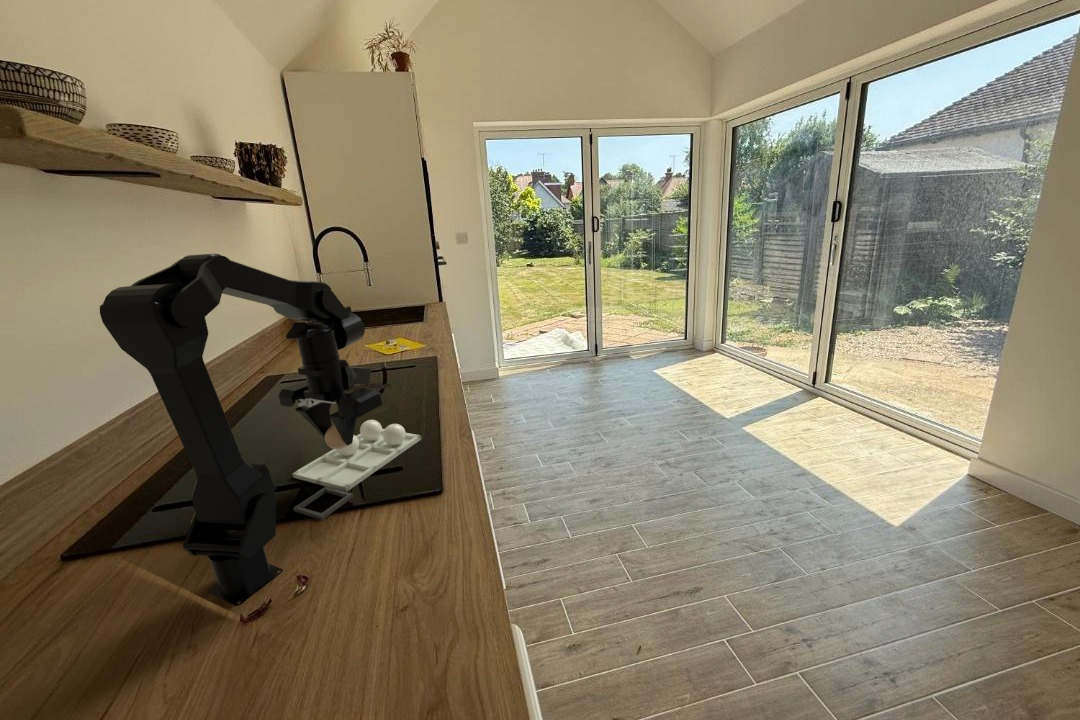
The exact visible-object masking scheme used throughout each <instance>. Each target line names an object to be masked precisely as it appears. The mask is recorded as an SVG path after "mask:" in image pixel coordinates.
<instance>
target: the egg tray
mask: <svg viewBox="0 0 1080 720" xmlns="http://www.w3.org/2000/svg"><path fill="white" fill-rule="evenodd" d="M384 430H385V428H382V433H381V435H380V437H379V438H378V439H376V440H374V441H367V440H365V439H363V438H362V436H361V435H360V433H358V434H357V435H355V436H356V437H357V438H358V440H359V447H358V450H357V451H356V452H355V453H354V454H352V455H349V456H344V455H341V454H339V453H338V452H337V450H336V449H333V448H332V449H331V450H330V451H328V452H326V453H325V454H323V455H321V456H320V457H317V458H316V459H314V460H312V461H311V462H309V463H308V464H306V465H304V466H302V467H300V468H299V469H297V470H296V471H294V472H293V473H291V474H292V478H294V479H298V480H301V481H305V482H309V483H312V484H316V485H319V486H323V487H329V488H333V489H337V490H341V491H344V492H348V491H350V490H352V488H355V486H357V485H358V484H360V483H361V482H362V481H364V480H366V479H367V478H368V477H369V476H371V475H372V474H374V473H375V472H377V471H379V470H380V469H381V468H382V467H384V466H385V465H387V464H388V463H390V462H391V461H392V460H394V459H395V458H397V457H398V456H399V455H401V454H402V453H404V452H405V451H407V450H408V449H410V448H411V447H413V446H414V445H415V444H417V443H418V442H419V441H421V440H422V435H421V434H414V433H409V432H406V436H405V439H404V441H403V442H402V443H401V444H399V445H395V446H393V445H389V444H387V443H386V442H385V440H384V438H383V432H384Z"/></svg>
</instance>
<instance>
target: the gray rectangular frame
mask: <svg viewBox="0 0 1080 720" xmlns="http://www.w3.org/2000/svg"><path fill="white" fill-rule="evenodd" d="M326 493H327V494H331V495H335V496H338V497H342V498H341V499H340V500H338V501H337V502H335V503H334V504H333V505H331V506H330V507H328V508H327V509H326V510H324V511H323V512H318V511H314V510H311V509H308V508H305V507H306V506H308V505H310V504H311V503H312V502H314V501H316V500H317V499H319V498H320V497H321V496H323V495H324V494H326ZM353 498H354V494H353V493H352V492H348V491H347V492H346V491H342V490H338V489H335V488H331V487H327V486H323V488H321V489H320V490H318V491H317V492H315V493H314V494H312V495H310V496H309V497H307V498H306V499H305V500H303V501H301V502H300V503H299V504H297V505H295V506H294V507H293V511H294V513H299V514H302V515H305V516H309V517H311V518H314V519H318V520H321V521H323V520H325V519H326V518H327V517H328V516H329V515H331V514H332V513H334V512H335V511H336V510H338V509H339V508H341V507H342V506H344V504H346V503H348V502H349V501H350V500H351V499H353Z"/></svg>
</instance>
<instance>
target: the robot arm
mask: <svg viewBox="0 0 1080 720" xmlns="http://www.w3.org/2000/svg"><path fill="white" fill-rule="evenodd" d="M223 295H227V296H230V297H231V296H232V297H233V298H234V297H235V298H239V299H244V300H247V301H252V302H256V303H259V304H264V305H267V306H269V307H272V308H273V310H274V311H275V313H276V314H279V315H281V316H283V317H285V318H287V319H289V320H299V321H298V322H293V323H292V327H290V329H289V330H288V331H287V333H286V335H285V337H286V339H287V340H296V342H297V346H298V350H299V355H300V360H301V365H302V366H301V367H298V368H297V372H298V375H300V376H301V375H302V376H305V380H301V381H299V382H296V383H293V384H291V385H288V386H285V387H284V388H281V390H280V392H279V394H278V399H279V402H280V406H282V407H289V408H292V407H294V406H295V405H296V402H297V405H298V407H295V409H294V410H295V412H297V413H298V414H300V415H301V416H302V417H303V418H304V419H305V420H306V421H307V422H308V423H309V424H310V425H311V426H312V427H313V429H315V430H316V432H318V433H319V435H321V436H322V437H323V439H324V440H325V434H326V431H327V430H328V429H329V428H330V427H331V426H333V425H335V427H336V429H337V430H338V432H339V434H340V436H341V438H342V440H343V441H344V443H345V444H346V445H347V446H348V445H350V444H352V442H353V436H354V435H355V428H356V424H357V420H358V418H360V417H362V416H364V415H366V414H368V413H370V412H371V411H373V410H375V409H377V408H379V407H381V406H383V405H384V404H383V403H384V402H383V397H382V392H380V391H379V390H377V389H371V388H365V387H360V388H358V389H355V388H356V386H355V385H365V386H370V385H371V378H372V368H371V367H365V366H364V367H363V366H356V365H355V366H354V365H353V366H352V365H349V361H347V360H346V359H341V358H340V353H339V351H340V350H343V349H345V348H347V347H349V346H351V345H353V344H355V343H357V342H359V341H360V340H362V338H363V337H364V335H365V332H366V325H365V323H364V322H363V320H362V318H361V317H360V316H358V315H357V314H356V313H354V312H352V308H351V306H344V305H343V303H342V302H341V301H340V299H339V298H338V297H337V295H336V294H335V293H334V291H332V288H331V287H330V285H329V284H327V283H326V282H323V281H321V282H320V281H312V280H310V281H309V280H305V281H304V280H292V279H291V280H290V279H288V278H284V277H281V276H278V275H276V274H273V273H269V272H266V271H264V270H260V269H257V268H255V267H251V266H249V265H246V264H243V263H240V262H237V261H234V260H231V259H230V258H229V257H227V256H225V255H222V254H219V253H205V254H204V253H203V254H189V255H185V256H184V257H182V258H180V259H178V260H177V261H176V262H174V263H173V264H171V265H170V266H168V267H166V268H164V269H161V270H159V271H156V272H155V273H152V274H150V275H148V276H145V277H144V278H143V277H142V278H141V279H138V280H137V281H135V282H134V283H132V284H130V285H128V286H119V287H117V288H114V289H112V290H111V291H110V292H109V293H108V294H107V295H106V296H105V298H104V300H103V303H102V304H101V305H100V306H99V315H100V318H101V322H102V323H103V325H104V327H105V328H106V330H107V331H108V332H109V334H110V335H111V336H112V338H113V339H114V341H115V343H116V344H117V345H118V347H119V348H120V349H121V350H122V351H123V352H124V353H126V354H127V355H128V356H129V357H131V358H132V359H133V360H135V361H136V362H137V363H139V364H140V365H141V366H142V367H143V368H145V369H146V370H147V371H148V372H149V374H150V376H151V378H152V381H153V383H154V385H155V387H156V389H157V391H158V395H160V398H161V400H162V403H163V405H164V406H165V409H166V411H167V413H168V416H169V417H170V420H171V422H172V424H173V426H174V429H175V431H176V433H177V435H178V438H179V439H180V442H181V444H182V446H183V447H184V448H183V449H184V450H185V453H186V455H187V457H188V459H189V461H190V463H191V466H192V468H193V470H194V472H195V475H196V480H195V483H194V488H193V491H192V494H191V500H192V504H193V509H194V513H195V516H194V518H193V517H192V518H193V521H192V520H191V521H192V524H191V523H190V527H189V529H188V532H187V535H186V536H185V540H184V542H183V545H182V548H183V549H184V551H185V552H186V553H188V554H189V555H190V556H192V557H193V556H194V557H195V556H202V557H203V556H204V557H205V556H206V557H208V560H209V563H210V566H211V568H212V572H213V574H214V577H215V579H216V582H217V583H216V584H215V585H213V586H212V587H210V588H209V589H208V590H207V593H208V594H209V595H212V596H214V597H215V598H218V599H220V600H222V601H224V602H226V603H228V604H230V605H233V606H234V607H235V606H236V607H238V606H240V605H242V604H243V603H244V602H246V601H247V600H248V599H250V598H251V597H252V596H254V595H255V594H256V593H257V592H259V591H260V590H261V589H263V588H265V586H267V585H268V584H269V583H271V582H272V581H273V580H274V579H275V578H276V577H277V578H278V577H279V575H281V574H282V573H283V571H284V569H283V568H281V567H278V566H276V565H273V564H270V563H269V561H268V557H267V554H266V551H265V548H264V547H265V546H266V545H267V544H268V543H269V542H270V541H271V540H272V539H273V538H274V537H275V536H276V534H277V533H276V531H277V530H276V528H277V527H276V525H277V521H276V520H277V519H276V518H277V517H276V516H277V512H276V511H277V509H276V508H277V507H276V506H277V498H276V493H275V491H276V490H277V488H278V487H277V486H276V485H275V484H274V482H273V480H272V478H271V474H270V473H271V472H270V470H269V467H268V466H267V465H266V464H264V463H263V464H262V463H248V462H246V461H245V460H244V458H243V456H242V453H241V450H240V448H239V446H238V443H237V441H236V439H235V436H234V434H233V430H232V429H231V426H230V423H229V421H228V418H227V416H226V414H225V411H224V409H223V406H222V403H221V400H220V398H219V396H218V393H217V391H216V388H215V385H214V383H213V381H212V378H211V376H210V374H209V371H208V369H207V366H206V364H205V361H204V357H203V356H204V353H205V352H204V351H205V349H206V345H207V340H208V337H209V330H208V326H207V325H208V324H207V320H206V317H207V316H208V314H210V313H211V312H212V311H214V310H215V309H216V308H217V306H219V305H220V303H221V298H222V296H223ZM300 321H301V322H300ZM307 322H308V323H307ZM353 389H355V390H353ZM351 390H353V391H352V392H350V393H347V391H351ZM332 404H334V405H337V409H338V411H335V412H333V413H332V414H331V411H330V410H331V407H332ZM332 423H333V424H332ZM238 602H239V603H238Z"/></svg>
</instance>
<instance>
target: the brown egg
mask: <svg viewBox="0 0 1080 720" xmlns="http://www.w3.org/2000/svg"><path fill="white" fill-rule="evenodd" d="M324 441H325V444H326V445H327V446H328V447H329V448H331V449H332V450H333V449H342V448H345V447H346V446H347V445H346V444H345V443H344V441H343V440H342V438H341V436H340V434H339V432H338V430H337V429H336V427H335V425H334V424H332V426H331V427H330V428H329V429H328V430H327V431H326V434H325V439H324Z"/></svg>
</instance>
